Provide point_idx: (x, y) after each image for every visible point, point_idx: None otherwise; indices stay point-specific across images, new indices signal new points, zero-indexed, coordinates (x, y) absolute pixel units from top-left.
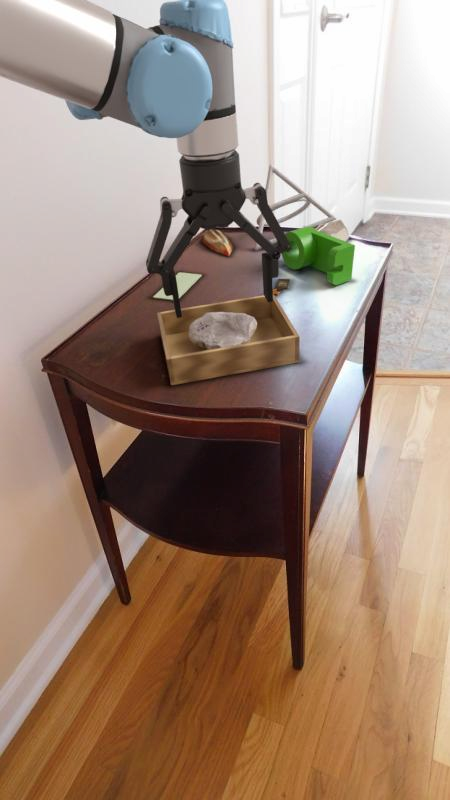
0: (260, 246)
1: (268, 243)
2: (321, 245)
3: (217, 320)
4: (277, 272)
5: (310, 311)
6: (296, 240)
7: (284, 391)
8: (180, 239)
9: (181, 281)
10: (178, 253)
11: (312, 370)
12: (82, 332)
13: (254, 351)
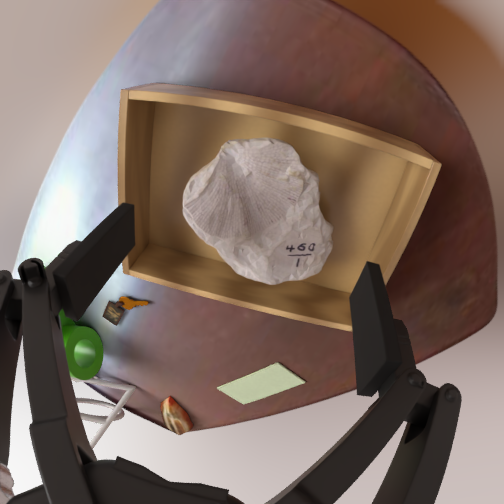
0: (127, 387)
1: (25, 315)
2: None
3: (262, 249)
4: (68, 248)
5: (90, 229)
6: (71, 361)
7: (221, 6)
8: (352, 481)
9: (249, 390)
10: (370, 430)
11: (143, 50)
12: (432, 355)
13: (232, 98)
